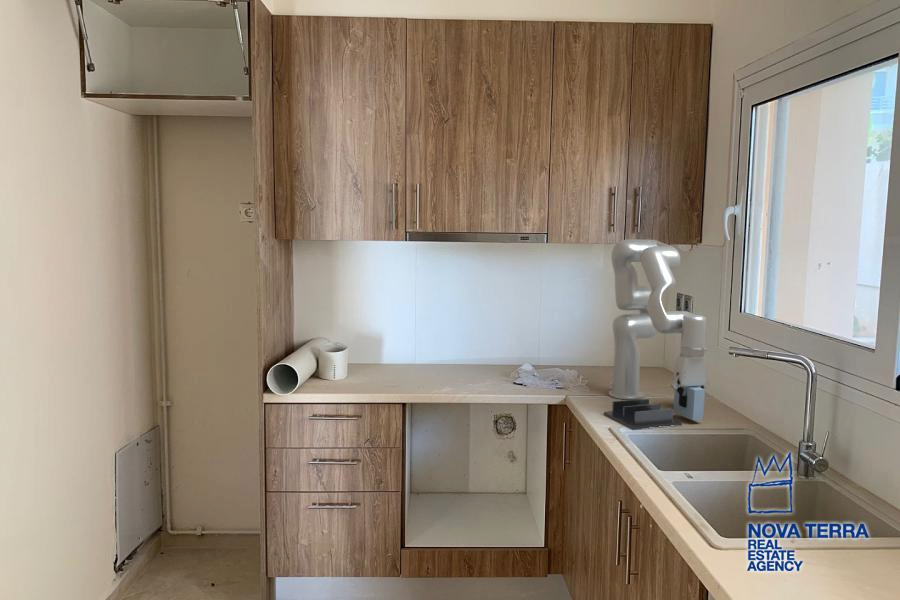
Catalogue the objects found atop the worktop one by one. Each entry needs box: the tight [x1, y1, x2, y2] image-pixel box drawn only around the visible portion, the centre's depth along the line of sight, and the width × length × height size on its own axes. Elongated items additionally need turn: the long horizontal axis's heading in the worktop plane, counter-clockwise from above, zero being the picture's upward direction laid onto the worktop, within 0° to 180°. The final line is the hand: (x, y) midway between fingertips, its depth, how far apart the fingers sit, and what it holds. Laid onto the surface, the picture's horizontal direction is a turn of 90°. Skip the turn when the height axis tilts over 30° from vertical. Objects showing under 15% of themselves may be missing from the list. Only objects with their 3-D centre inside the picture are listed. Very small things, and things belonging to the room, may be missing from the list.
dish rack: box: [603, 398, 683, 431], centre depth 211 cm, size 18×18×5 cm
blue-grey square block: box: [673, 384, 706, 421], centre depth 211 cm, size 10×4×10 cm, turn 17°
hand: (688, 405), depth 211 cm, fingers closed on blue-grey square block, 4 cm apart
